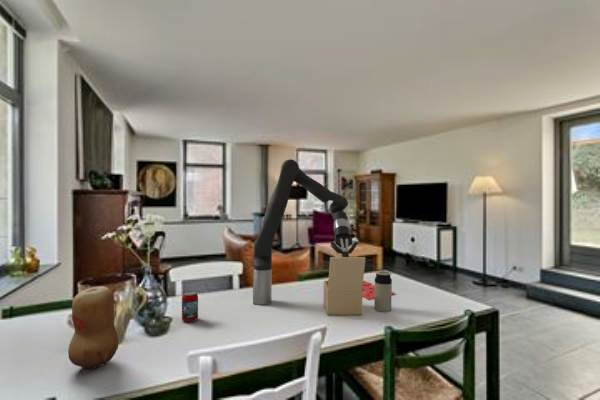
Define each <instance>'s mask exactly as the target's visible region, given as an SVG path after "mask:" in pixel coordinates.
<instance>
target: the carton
mask: <svg viewBox="0 0 600 400" xmlns="http://www.w3.org/2000/svg"><path fill="white" fill-rule="evenodd" d="M328 284H329V281H328V280H323V307H324V309H325V313H326V315H327V317H328V316H329V317H330V316H332V317H334V316H335V317H336V316H337V317H338V316H341V317H342V316H344V317H345V316H348V317H349V316H351V317H352V316H355V317H356V316H357V317H358V316H363V297H362V295H363V293H362V290H363V289H328Z"/></svg>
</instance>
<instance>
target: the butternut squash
mask: <svg viewBox="0 0 600 400" xmlns="http://www.w3.org/2000/svg"><path fill="white" fill-rule="evenodd" d="M114 297H115V296H114V293H113V292H112V291H111V289H109V288H108V287H106V286H101V285H100V286H94V287H89V288H86V289H83V290H82V291H80V292H79V293H77V294H76V295H75V296H74V297H73V299H72V303H71V305H72V306H71V320H72V321H71V322H72V324H73V328H74V333H73V335H72V337H71V340H70V341H69V342H70V343H69V345H68V350H67V352H68V360H69V361H70V362H71V363H72V364H73V365H75V366H77V367H80V368H82V369H87V370H88V369H89V370H94V369H96V368H97V367H99V366H105V365H106V364H108V363H109V362H110V361H111V360H112V359H113V357H114V356H115V355H116V352H117V351H118V349H119V335H118V333H117V330H116V326H115V301H114Z"/></svg>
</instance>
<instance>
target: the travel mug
mask: <svg viewBox="0 0 600 400" xmlns="http://www.w3.org/2000/svg"><path fill="white" fill-rule="evenodd" d="M391 276H392V272H390V271H387V270H377V271H375V278H374V285H375V299H374V310H376V311H378V312H382V313H387V312H390V311H392V301H393V300H392V296H393V295H392V292H393V291H392V286H393V285H392V282H393V280H392V277H391Z"/></svg>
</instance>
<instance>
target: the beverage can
mask: <svg viewBox="0 0 600 400" xmlns="http://www.w3.org/2000/svg"><path fill="white" fill-rule="evenodd" d="M198 319H199V295H198V293H197V292H196V291H193V290H191V291H189V290H188V291H186V292H183V295H182V296H181V321H182V322H185V323H193V322H195V321H196V320H198Z"/></svg>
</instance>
